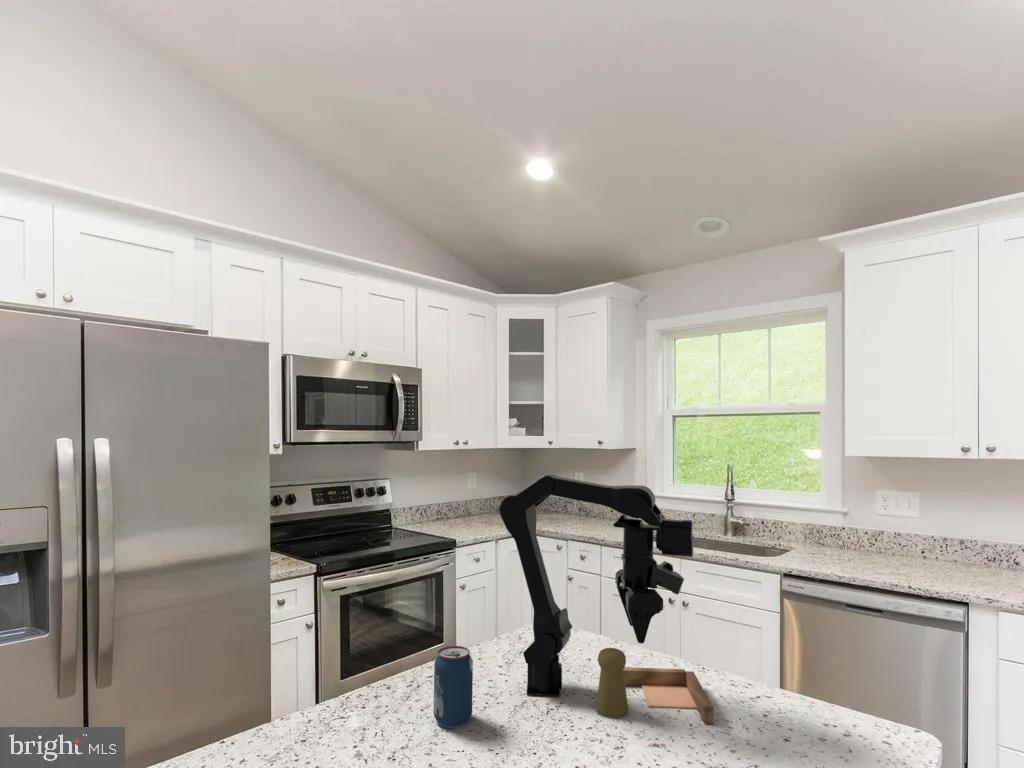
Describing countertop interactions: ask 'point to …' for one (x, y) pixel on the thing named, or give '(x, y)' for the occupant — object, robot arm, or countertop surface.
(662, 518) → the robot arm
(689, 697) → the corner arena
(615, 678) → the olive pepper mill
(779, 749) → the countertop surface
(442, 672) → the soda can
